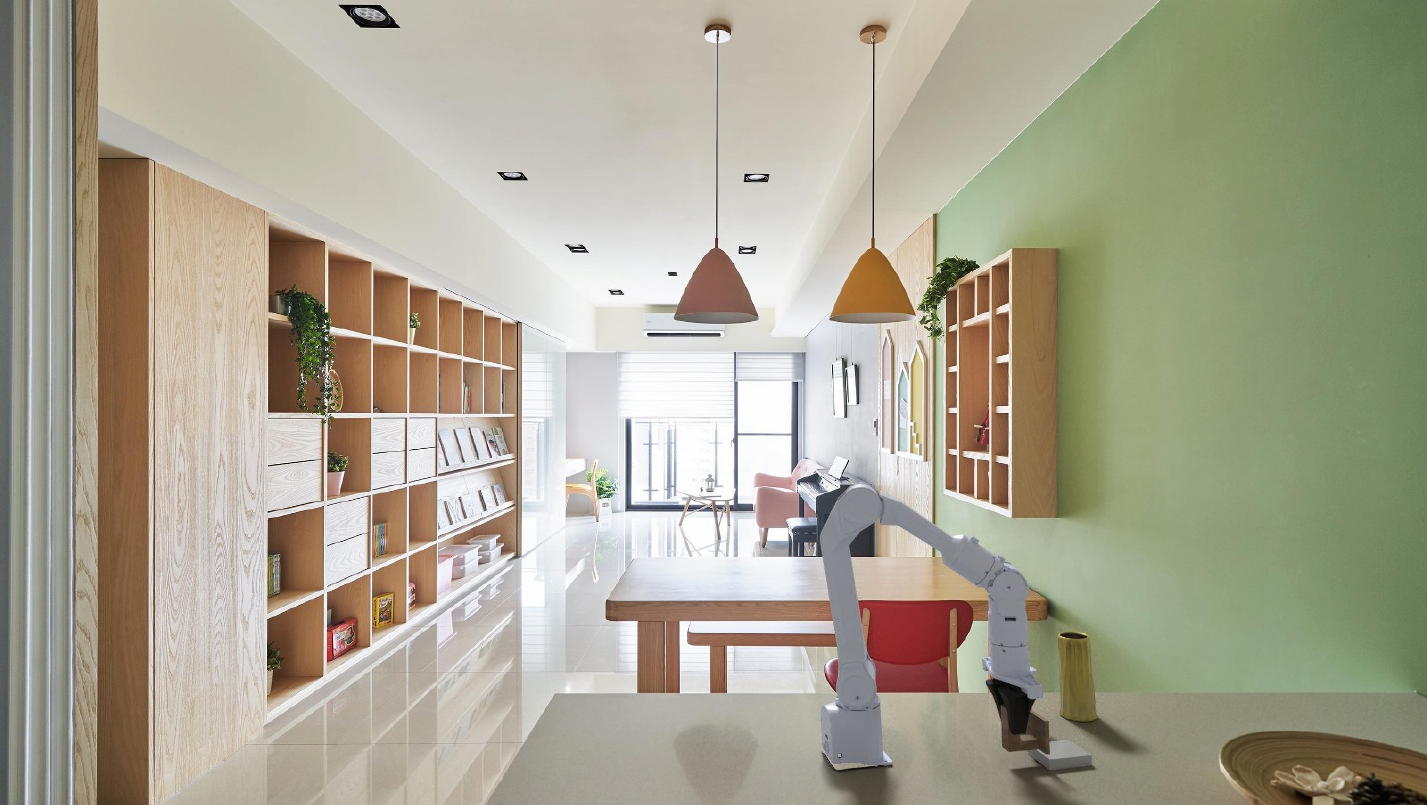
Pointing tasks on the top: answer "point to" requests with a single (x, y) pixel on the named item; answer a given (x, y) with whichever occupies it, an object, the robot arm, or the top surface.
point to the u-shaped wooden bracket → (1026, 734)
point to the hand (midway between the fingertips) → (1014, 730)
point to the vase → (1076, 677)
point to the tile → (1062, 755)
